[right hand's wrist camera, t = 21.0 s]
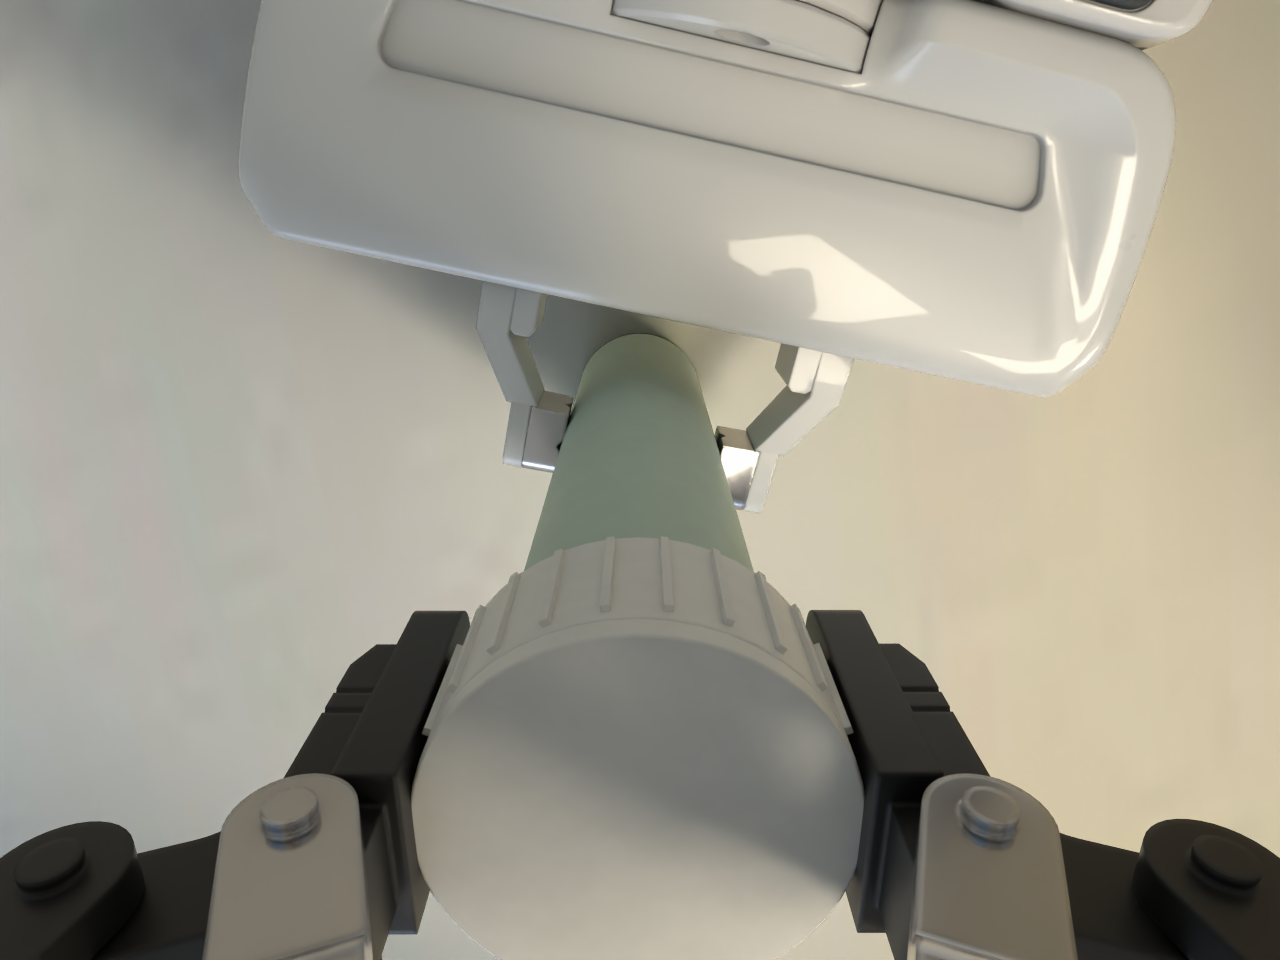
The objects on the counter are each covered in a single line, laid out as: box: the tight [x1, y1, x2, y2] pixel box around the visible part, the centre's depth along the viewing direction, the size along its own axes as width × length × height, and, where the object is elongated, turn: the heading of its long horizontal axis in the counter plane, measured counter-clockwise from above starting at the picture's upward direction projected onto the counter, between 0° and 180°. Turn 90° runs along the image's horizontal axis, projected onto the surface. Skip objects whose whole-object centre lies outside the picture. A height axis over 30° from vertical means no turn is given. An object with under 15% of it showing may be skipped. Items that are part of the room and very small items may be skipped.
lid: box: [411, 536, 864, 960], centre depth 10 cm, size 5×5×2 cm
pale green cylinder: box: [524, 334, 754, 572], centre depth 19 cm, size 4×4×19 cm
